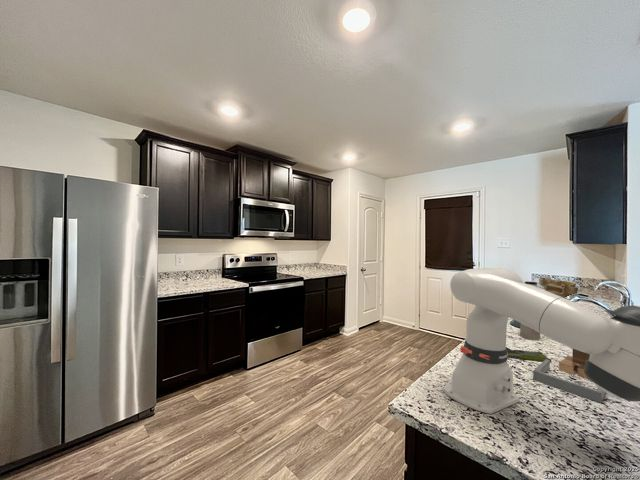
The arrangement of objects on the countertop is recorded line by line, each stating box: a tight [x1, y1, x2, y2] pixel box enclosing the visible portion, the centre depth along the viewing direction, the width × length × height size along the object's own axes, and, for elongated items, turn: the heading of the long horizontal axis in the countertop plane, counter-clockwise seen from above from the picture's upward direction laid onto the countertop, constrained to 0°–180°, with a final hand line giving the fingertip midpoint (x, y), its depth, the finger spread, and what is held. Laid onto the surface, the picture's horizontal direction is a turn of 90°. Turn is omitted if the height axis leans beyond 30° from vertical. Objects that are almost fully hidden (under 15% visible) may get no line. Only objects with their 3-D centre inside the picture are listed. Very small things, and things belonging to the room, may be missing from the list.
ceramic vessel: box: [538, 276, 579, 298], centre depth 207 cm, size 23×24×25 cm
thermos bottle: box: [519, 281, 541, 341], centre depth 133 cm, size 8×8×28 cm
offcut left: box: [558, 359, 577, 375], centre depth 99 cm, size 4×4×3 cm
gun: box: [506, 346, 552, 363], centre depth 114 cm, size 2×19×15 cm
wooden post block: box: [563, 348, 590, 372], centre depth 100 cm, size 8×10×14 cm
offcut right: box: [577, 365, 591, 381], centre depth 95 cm, size 4×4×3 cm
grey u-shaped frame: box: [532, 359, 607, 404], centre depth 90 cm, size 16×16×3 cm
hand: (579, 346), depth 101 cm, fingers closed on wooden post block, 4 cm apart
